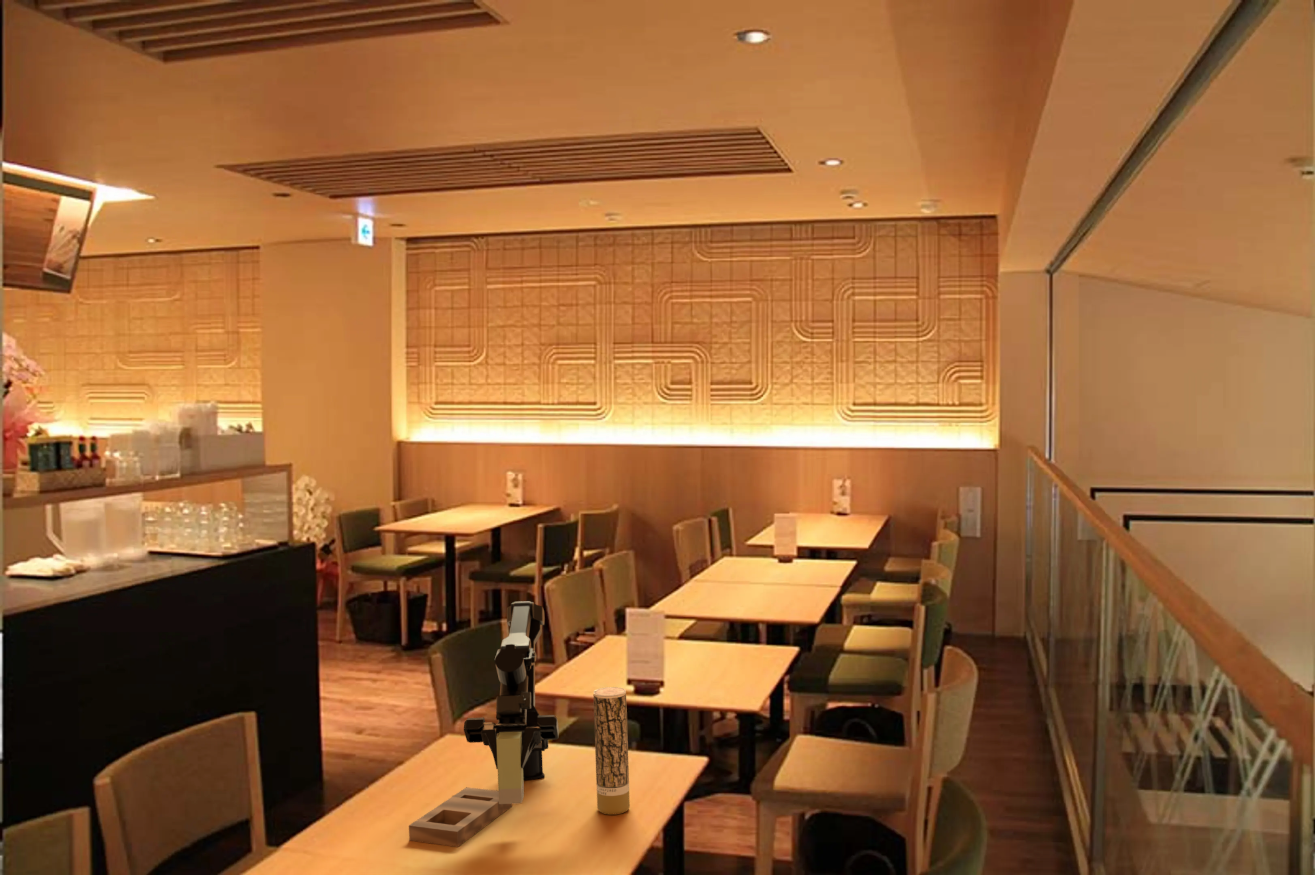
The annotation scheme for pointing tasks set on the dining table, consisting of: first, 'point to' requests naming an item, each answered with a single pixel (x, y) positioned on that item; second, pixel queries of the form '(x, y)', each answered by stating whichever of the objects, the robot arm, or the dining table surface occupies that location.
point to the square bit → (510, 768)
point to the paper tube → (611, 750)
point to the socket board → (458, 817)
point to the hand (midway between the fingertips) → (509, 768)
